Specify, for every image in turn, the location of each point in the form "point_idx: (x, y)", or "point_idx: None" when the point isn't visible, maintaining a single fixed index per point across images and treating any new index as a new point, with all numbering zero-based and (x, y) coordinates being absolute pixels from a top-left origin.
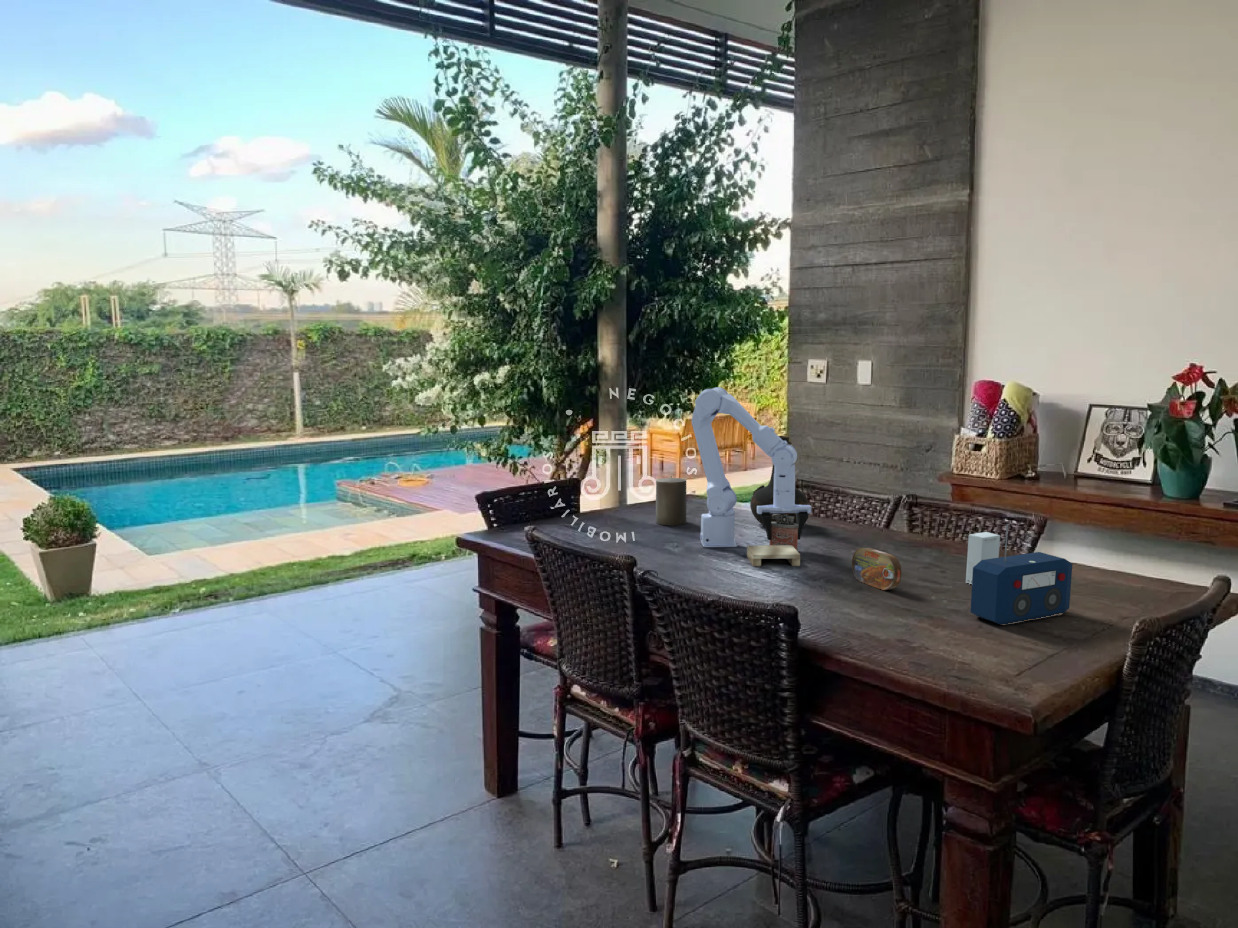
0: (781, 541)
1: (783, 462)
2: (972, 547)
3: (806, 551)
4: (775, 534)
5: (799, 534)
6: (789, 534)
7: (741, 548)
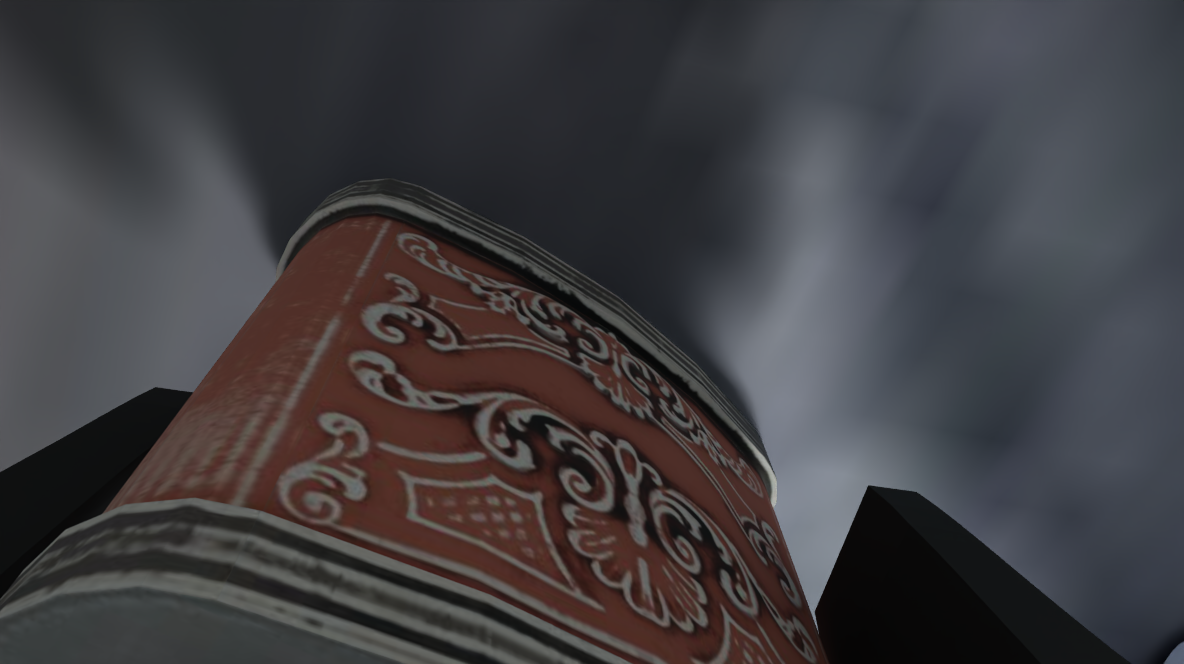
0: (631, 412)
1: None
2: None
3: (117, 189)
4: (765, 604)
5: (101, 443)
6: (445, 432)
7: (1148, 579)
